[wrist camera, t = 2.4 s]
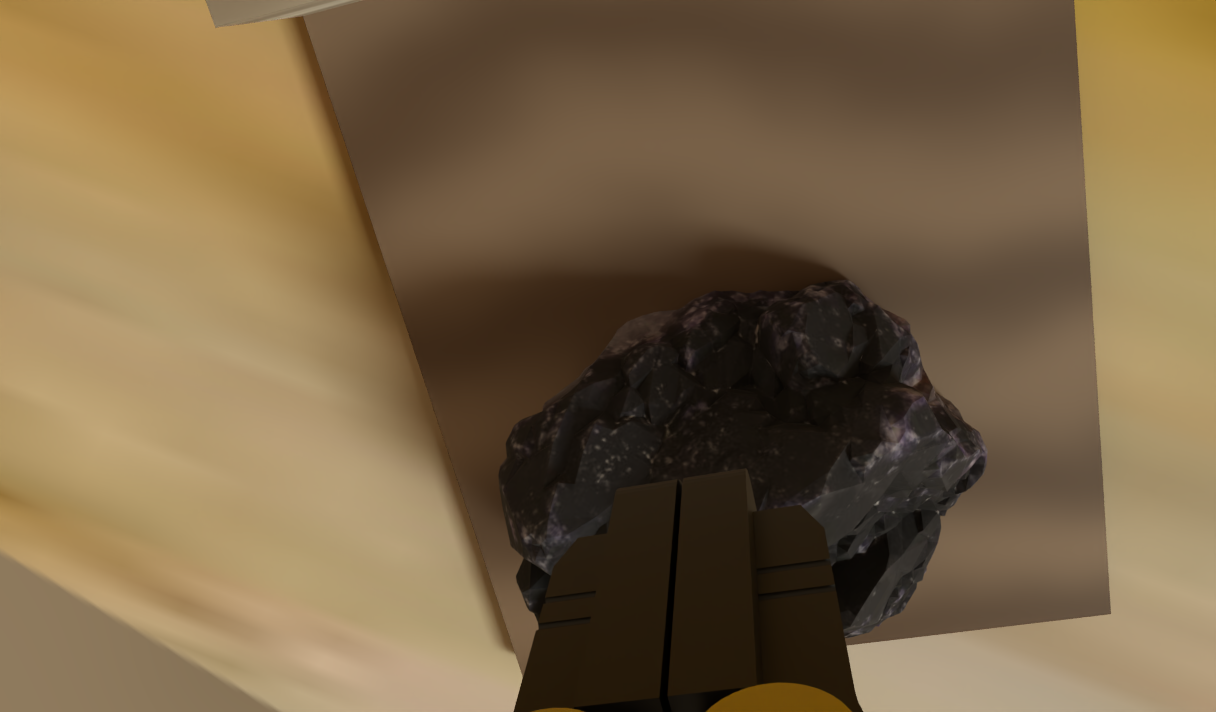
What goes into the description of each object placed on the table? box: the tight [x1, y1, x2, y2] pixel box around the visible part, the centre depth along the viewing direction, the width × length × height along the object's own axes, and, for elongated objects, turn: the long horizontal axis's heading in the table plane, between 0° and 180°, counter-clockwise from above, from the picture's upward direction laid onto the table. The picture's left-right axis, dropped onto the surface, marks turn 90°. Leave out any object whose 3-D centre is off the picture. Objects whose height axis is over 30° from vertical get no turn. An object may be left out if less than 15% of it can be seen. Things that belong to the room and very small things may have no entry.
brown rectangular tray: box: [206, 0, 1111, 676], centre depth 26 cm, size 26×20×6 cm
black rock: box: [498, 280, 988, 638], centre depth 27 cm, size 13×14×10 cm
